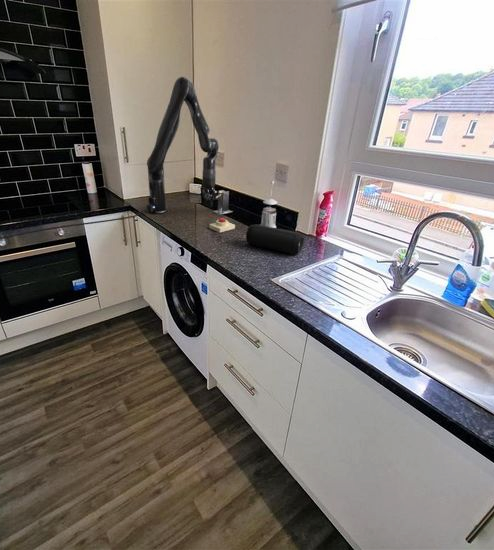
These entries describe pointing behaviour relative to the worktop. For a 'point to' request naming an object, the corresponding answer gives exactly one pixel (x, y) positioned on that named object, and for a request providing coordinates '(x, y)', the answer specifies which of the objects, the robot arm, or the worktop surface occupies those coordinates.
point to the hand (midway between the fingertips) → (208, 205)
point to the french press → (269, 213)
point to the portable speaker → (275, 238)
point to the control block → (221, 226)
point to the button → (222, 220)
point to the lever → (216, 197)
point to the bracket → (223, 203)
